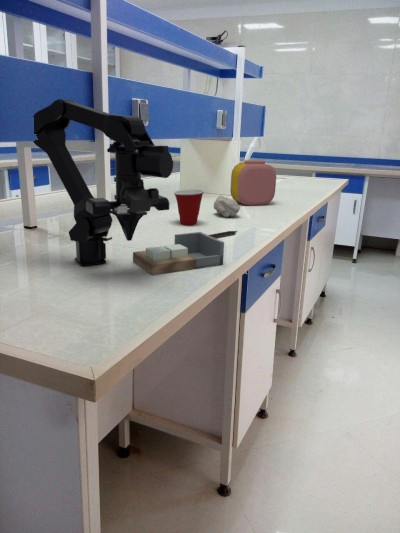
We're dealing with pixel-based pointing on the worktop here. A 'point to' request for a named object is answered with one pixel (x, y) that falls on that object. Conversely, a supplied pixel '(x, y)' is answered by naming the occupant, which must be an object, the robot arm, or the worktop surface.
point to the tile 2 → (177, 250)
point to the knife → (223, 234)
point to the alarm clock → (253, 183)
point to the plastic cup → (189, 205)
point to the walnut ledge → (164, 263)
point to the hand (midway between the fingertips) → (129, 240)
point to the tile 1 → (157, 253)
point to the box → (202, 248)
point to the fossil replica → (226, 206)
